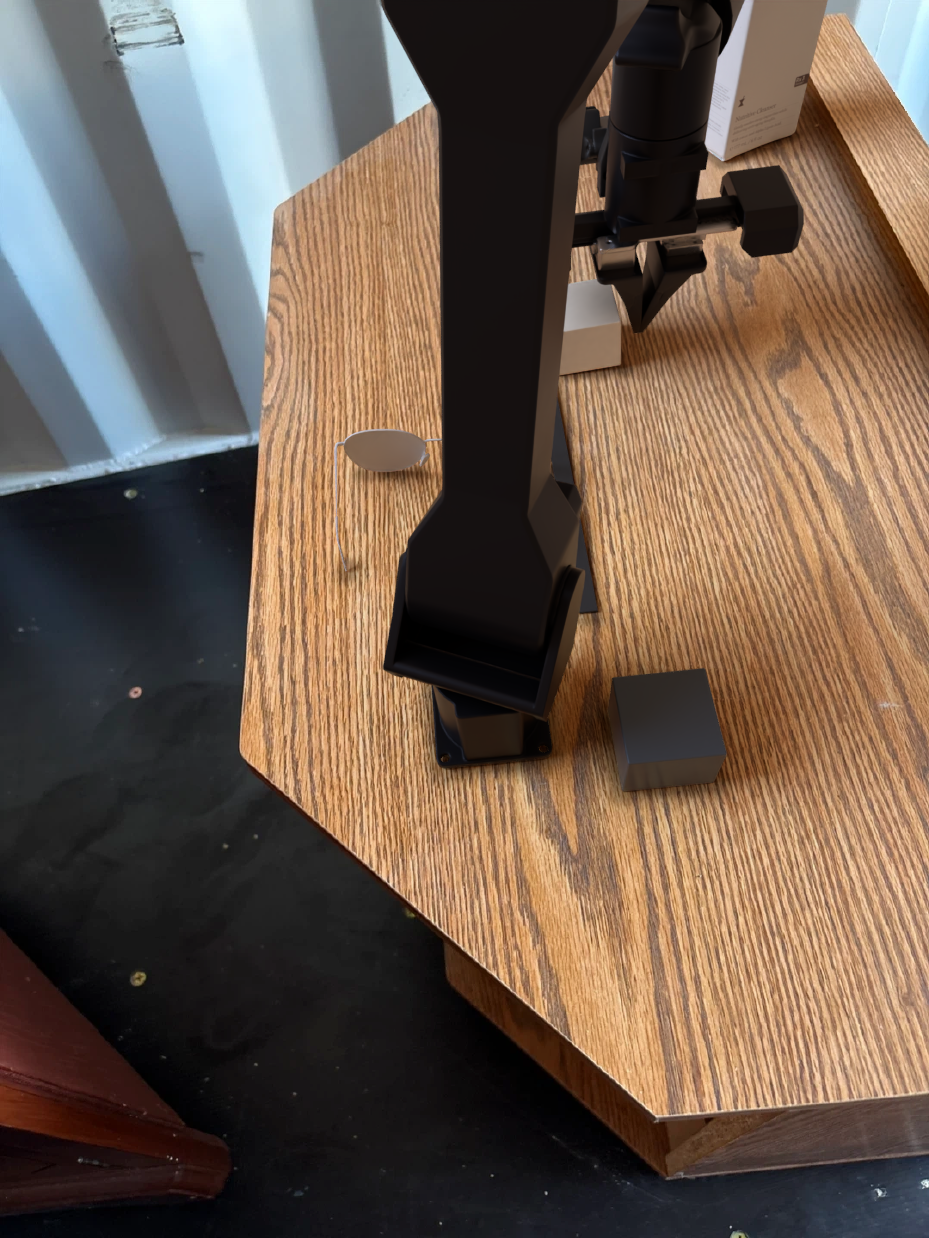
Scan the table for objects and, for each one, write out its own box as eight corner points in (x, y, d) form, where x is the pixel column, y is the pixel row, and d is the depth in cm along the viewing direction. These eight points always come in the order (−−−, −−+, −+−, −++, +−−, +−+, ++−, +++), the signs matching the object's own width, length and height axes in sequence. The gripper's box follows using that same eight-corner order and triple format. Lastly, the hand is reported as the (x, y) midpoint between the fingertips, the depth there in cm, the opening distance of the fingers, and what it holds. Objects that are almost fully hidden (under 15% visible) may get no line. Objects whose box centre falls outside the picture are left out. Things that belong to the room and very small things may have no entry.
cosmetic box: (722, 164, 75) (758, -33, 63) (682, 134, 78) (708, -61, 66) (799, 133, 77) (849, -66, 64) (756, 104, 80) (796, -91, 67)
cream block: (620, 365, 63) (621, 321, 59) (553, 376, 63) (549, 334, 60) (609, 320, 65) (609, 276, 62) (544, 331, 66) (541, 288, 62)
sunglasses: (544, 461, 59) (545, 418, 54) (551, 570, 56) (552, 535, 51) (346, 472, 60) (330, 431, 55) (341, 581, 57) (324, 547, 52)
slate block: (714, 783, 46) (727, 754, 43) (621, 792, 46) (628, 764, 43) (694, 700, 49) (705, 667, 45) (606, 709, 49) (611, 676, 45)
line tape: (597, 611, 52) (597, 610, 52) (578, 613, 52) (578, 612, 52) (511, 155, 79) (511, 153, 78) (498, 157, 79) (498, 155, 78)
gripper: (783, 25, 54) (737, 246, 67) (488, 65, 54) (501, 275, 68) (836, 121, 48) (774, 342, 61) (505, 165, 48) (515, 373, 62)
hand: (636, 329), depth 63 cm, fingers closed
